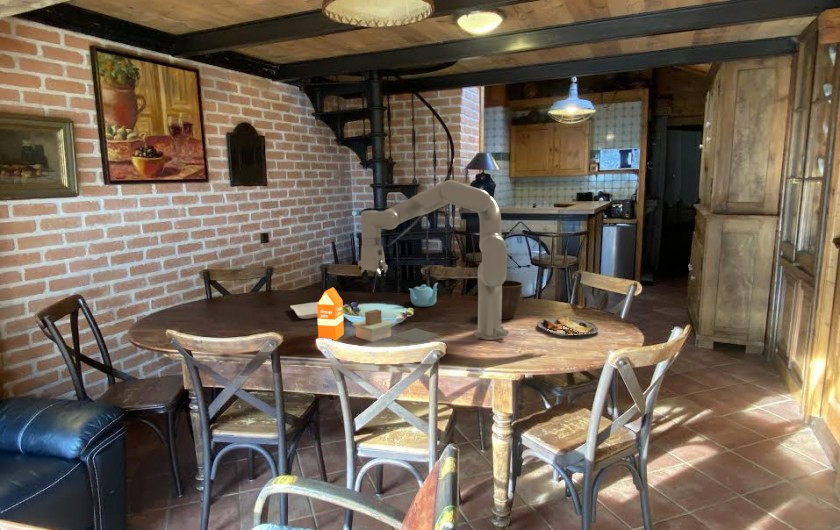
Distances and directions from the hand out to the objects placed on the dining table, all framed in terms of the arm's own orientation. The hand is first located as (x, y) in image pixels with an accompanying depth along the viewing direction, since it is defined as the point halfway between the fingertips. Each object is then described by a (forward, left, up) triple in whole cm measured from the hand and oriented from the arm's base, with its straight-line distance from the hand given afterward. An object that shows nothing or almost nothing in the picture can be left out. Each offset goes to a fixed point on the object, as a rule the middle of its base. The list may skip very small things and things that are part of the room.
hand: (373, 284), depth 209 cm
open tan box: (0, 0, -22) cm, 22 cm away
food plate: (-52, -63, -23) cm, 85 cm away
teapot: (+23, -54, -23) cm, 63 cm away
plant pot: (-21, -62, -22) cm, 69 cm away
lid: (0, 0, -17) cm, 17 cm away
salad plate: (+50, -6, -23) cm, 55 cm away
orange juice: (+14, +11, -22) cm, 29 cm away
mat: (-11, -13, -22) cm, 28 cm away
